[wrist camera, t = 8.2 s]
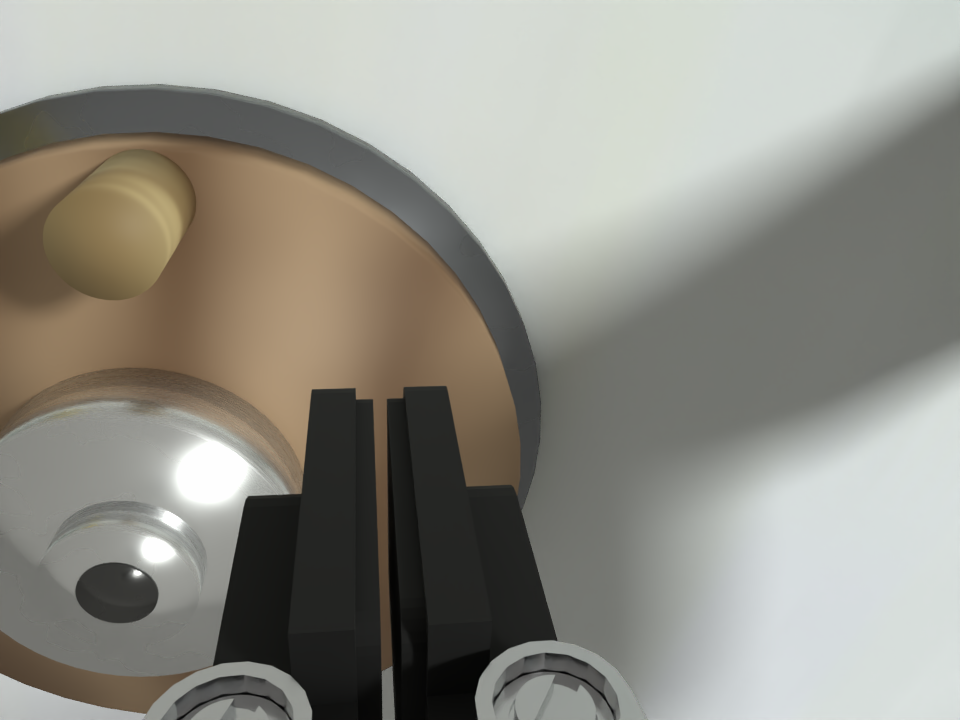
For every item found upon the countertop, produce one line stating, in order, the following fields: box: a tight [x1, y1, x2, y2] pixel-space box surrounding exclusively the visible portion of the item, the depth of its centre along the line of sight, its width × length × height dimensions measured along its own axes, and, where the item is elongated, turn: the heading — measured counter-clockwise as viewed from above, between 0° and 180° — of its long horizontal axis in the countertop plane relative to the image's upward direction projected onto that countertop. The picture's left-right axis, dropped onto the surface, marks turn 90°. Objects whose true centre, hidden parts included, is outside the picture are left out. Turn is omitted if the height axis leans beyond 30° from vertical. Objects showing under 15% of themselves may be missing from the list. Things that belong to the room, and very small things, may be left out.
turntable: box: [0, 132, 521, 714], centre depth 24 cm, size 20×20×5 cm
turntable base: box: [0, 84, 541, 510], centre depth 25 cm, size 22×22×3 cm
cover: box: [0, 368, 303, 677], centre depth 23 cm, size 9×9×4 cm
